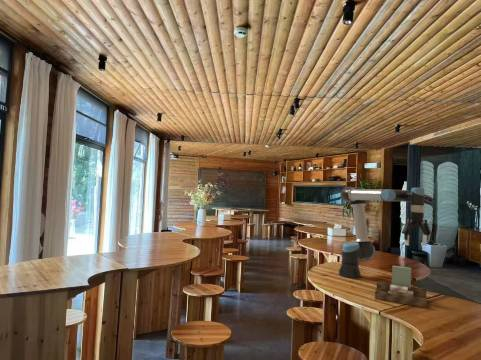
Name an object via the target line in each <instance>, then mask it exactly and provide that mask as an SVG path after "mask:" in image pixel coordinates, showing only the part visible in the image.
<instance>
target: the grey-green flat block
mask: <svg viewBox="0 0 481 360" xmlns="http://www.w3.org/2000/svg"><path fill="white" fill-rule="evenodd" d="M391 269H392V270H391V283H392V285H397V286H404V287H408V288H411V287H412V285H411V282H412V268H411V267H406V266H398V265H392V266H391Z"/></svg>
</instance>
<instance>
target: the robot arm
mask: <svg viewBox="0 0 481 360" xmlns="http://www.w3.org/2000/svg"><path fill="white" fill-rule="evenodd" d="M425 192H426V191H425V188H423V187H412V188H411V189H410V190H407V189H406V190H405V189H387V188H386V189H381V188H380V189H375V188H374V189H369V188H368V189H365V187H364V188H363V187H361V186H360V187H358V186H356V187H355V186H345V187H343V189H342V190H341V191H340V198H341V199H342V200H343V201H344V202H346V203H349V205H350V206H351V207H352V214H353V224H354V231H355V240H354V241H346V242H344V243H342V248H341V265H340V267H339V269H338V275H339V276H341V277H342V278H349V279H359V278H361V275H362V274H361V270H360V266H359V263H360V262H359V261H363V260H365V261H367V260H371V259H372V258H373V257H374V256H375V255H376V254H375V253H376V248H375V245H374V244H372V241H371V239H369V233H368V232H369V231H368V224H367V216H366V209H365V207H366V205H367V202H368V201H374V202H375V201H379V202H380V201H382V202H404V203H405V202H407V203H410V215H409V216H410V218H406V220H405V223H404V226H403V228H402V230H401V234H402V235H404V236H403V240H404V245H405V246H410V233H411V231H412V230H413V229H414V228H415V227H419V228H420V230H421V231H422V245H423V246H428V240H429V239H428V238H429V236H430V235H432V233H431V230H430V227H429V224H428V220H427V219H424V218H425V217H424V216H425V213H424V212H425V195H426V193H425Z"/></svg>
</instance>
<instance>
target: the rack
mask: <svg viewBox="0 0 481 360" xmlns="http://www.w3.org/2000/svg"><path fill="white" fill-rule="evenodd" d="M390 284H391V285H392V282H391V283H389V282H384V281H378V280H377V283H376V290H375V292H374V299H375V300H380V301H385V302H386V301H387V302H391V303H397V304H401V303H402V305H408V306H412V307H418V308H419V307H420V308H425V309H427V307H428V298H427V288H423V287H417V286H416V287H415V286H411V288H408V291H413V297H412V296H406V295H400V294H394V293H388V291H390Z"/></svg>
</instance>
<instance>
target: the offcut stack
mask: <svg viewBox="0 0 481 360" xmlns="http://www.w3.org/2000/svg"><path fill="white" fill-rule="evenodd" d="M388 293H394V294H400V295H406V296H412V297H413V291H408V287H404V286H397V285H391V284H390V291H388Z"/></svg>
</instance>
